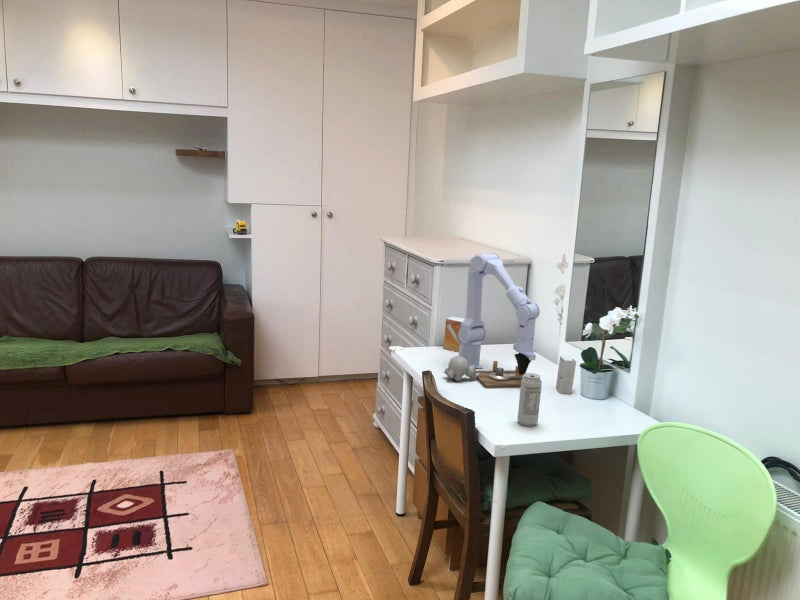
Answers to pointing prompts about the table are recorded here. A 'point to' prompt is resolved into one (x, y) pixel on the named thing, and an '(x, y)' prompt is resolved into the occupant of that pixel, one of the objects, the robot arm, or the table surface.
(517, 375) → the dial plate
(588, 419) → the table surface
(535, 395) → the energy drink can
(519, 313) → the robot arm
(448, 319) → the small box
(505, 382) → the walnut board
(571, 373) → the skincare box
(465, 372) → the chubby cartoon animal
